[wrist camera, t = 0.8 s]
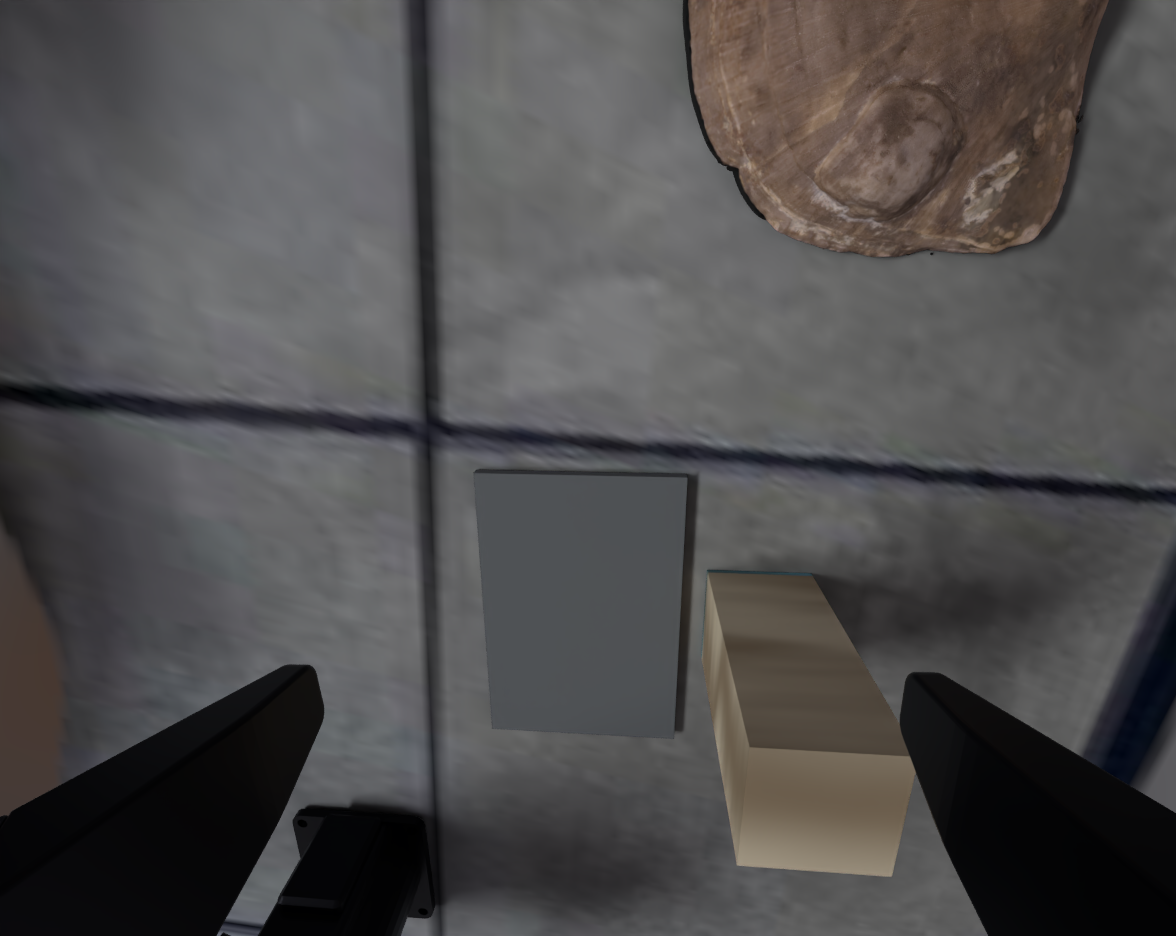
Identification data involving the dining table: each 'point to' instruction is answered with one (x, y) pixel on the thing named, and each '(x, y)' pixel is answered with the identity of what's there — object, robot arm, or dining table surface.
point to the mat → (582, 599)
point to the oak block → (800, 730)
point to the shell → (893, 115)
